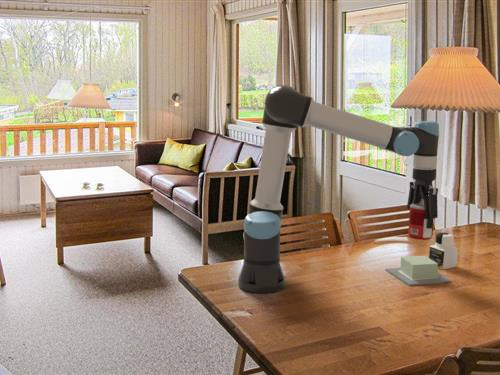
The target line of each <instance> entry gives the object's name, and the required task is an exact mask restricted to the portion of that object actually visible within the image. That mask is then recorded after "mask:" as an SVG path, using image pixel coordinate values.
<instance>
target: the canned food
mask: <svg viewBox="0 0 500 375" xmlns="http://www.w3.org/2000/svg"><path fill="white" fill-rule="evenodd" d="M408 214H409V216H408V230H407V231H408V232H407V234H408V237H410V239H414V240H420V241H422V240H423V241H425V240H426V241H427V240H430V239H432V238H433V232H434V224H433V225H432V235H431V238H423V229H424V218H425V217H426V215H425V208H424V202H422V203H421V202H420V203H419V204H414V203H413V204H410V210H409V213H408ZM434 220H435V218H434V219H433V223H434Z"/></svg>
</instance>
